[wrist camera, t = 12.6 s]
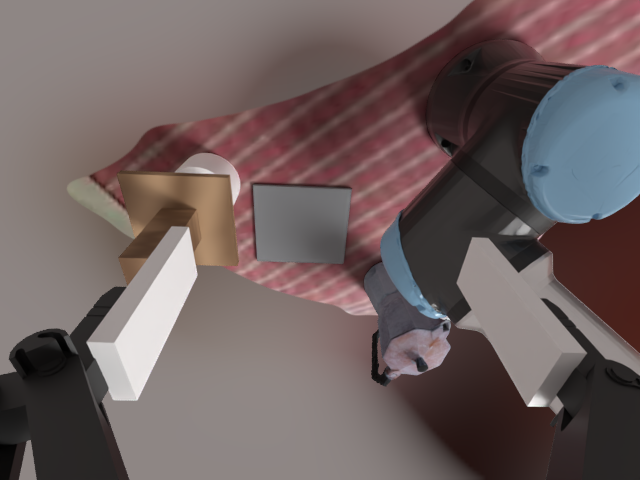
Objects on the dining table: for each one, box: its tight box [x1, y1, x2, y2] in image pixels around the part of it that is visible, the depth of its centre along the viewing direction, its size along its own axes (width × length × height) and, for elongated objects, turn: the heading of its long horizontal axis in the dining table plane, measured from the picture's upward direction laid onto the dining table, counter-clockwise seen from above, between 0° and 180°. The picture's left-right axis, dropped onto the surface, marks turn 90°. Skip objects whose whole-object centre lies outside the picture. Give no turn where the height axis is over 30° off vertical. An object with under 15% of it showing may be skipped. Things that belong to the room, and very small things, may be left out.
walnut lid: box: [117, 171, 239, 285], centre depth 36 cm, size 12×12×11 cm
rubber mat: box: [253, 184, 352, 264], centre depth 54 cm, size 15×14×1 cm
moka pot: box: [364, 262, 451, 386], centre depth 53 cm, size 10×15×20 cm, turn 149°
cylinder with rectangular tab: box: [174, 153, 240, 205], centre depth 45 cm, size 9×9×12 cm
